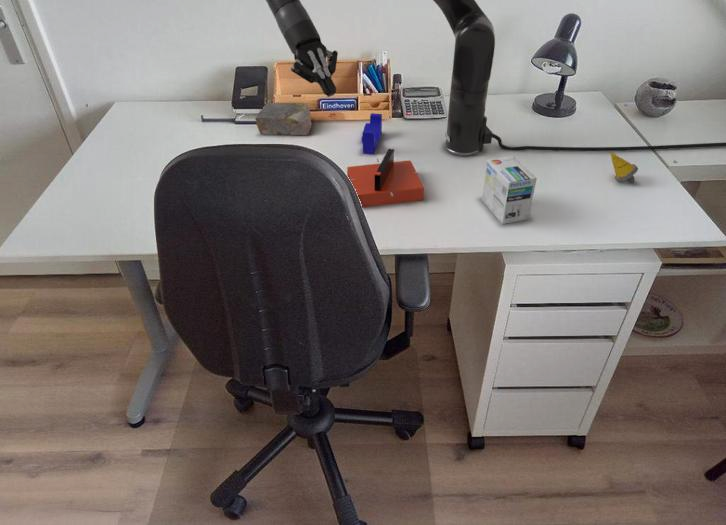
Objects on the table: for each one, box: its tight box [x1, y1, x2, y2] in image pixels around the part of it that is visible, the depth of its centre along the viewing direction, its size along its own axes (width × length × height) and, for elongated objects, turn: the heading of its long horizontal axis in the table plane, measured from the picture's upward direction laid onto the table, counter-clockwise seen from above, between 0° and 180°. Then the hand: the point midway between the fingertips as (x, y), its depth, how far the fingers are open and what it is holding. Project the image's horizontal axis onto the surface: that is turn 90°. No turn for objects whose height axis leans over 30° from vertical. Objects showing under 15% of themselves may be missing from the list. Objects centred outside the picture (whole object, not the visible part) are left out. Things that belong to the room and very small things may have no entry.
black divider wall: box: [375, 148, 395, 191], centre depth 128 cm, size 13×1×4 cm, turn 164°
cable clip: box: [361, 112, 383, 155], centre depth 148 cm, size 12×4×6 cm, turn 168°
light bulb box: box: [481, 155, 538, 225], centre depth 121 cm, size 11×7×11 cm, turn 17°
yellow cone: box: [609, 151, 639, 184], centre depth 131 cm, size 5×5×10 cm
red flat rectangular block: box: [346, 158, 425, 208], centre depth 130 cm, size 17×17×4 cm
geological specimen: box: [255, 102, 313, 137], centre depth 157 cm, size 11×6×15 cm
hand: (332, 94), depth 127 cm, fingers closed
